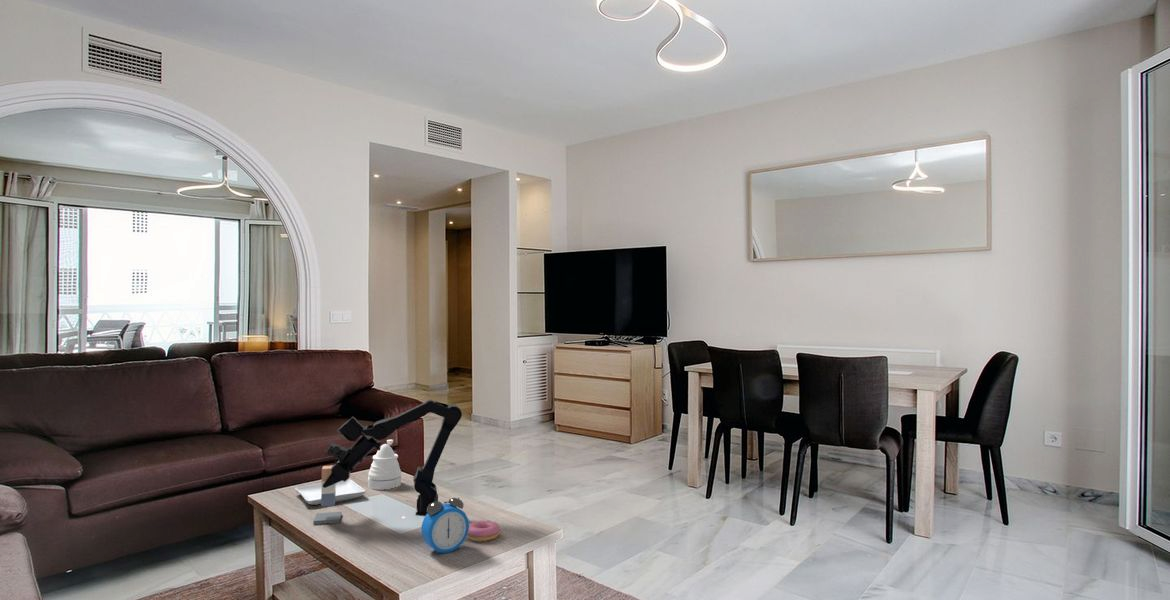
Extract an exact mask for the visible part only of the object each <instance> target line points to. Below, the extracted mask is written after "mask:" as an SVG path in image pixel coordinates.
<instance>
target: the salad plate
mask: <svg viewBox="0 0 1170 600" xmlns="http://www.w3.org/2000/svg"><path fill="white" fill-rule="evenodd" d="M321 486H322V482H320V483H319V482H318V483H314V484H308V485H302V486H296V487H295V488H294V490H295V491H296V492H297V494H299V495H300V496H301V497H302V498H303V499H304V501H305V502H306V503H307V504H309V505H310V506H311V505H313V506H319V505H318V504H321ZM365 493H366V489H365V488H363V487H361V485H359V484H357V483H356V482H355V481H354V480H352V479H349V478H348V479H347V480H346V481H345V482H344V481H340V482H338V483H336V492H335V503H338V501H339V502H343V500H345V501H349V500H348V499H350V500H354V499H355V498H359V497H362V496H363V495H364V494H365ZM353 498H354V499H353Z"/></svg>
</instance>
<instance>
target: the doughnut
mask: <svg viewBox="0 0 1170 600" xmlns="http://www.w3.org/2000/svg"><path fill="white" fill-rule="evenodd" d="M500 531H501V529H500V525H498V523H497V522H496V521H491V520H477V521H473V522H470V523H469V531H468V534H467V537H466V539H468V540H470V541H472V540H473V542H477V541H484V542H488V541H487V540H490V541H492V540H491V539H493V540H495V539H496V538H497V537H498V536H499V534H500ZM494 538H495V539H494Z"/></svg>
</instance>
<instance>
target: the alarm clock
mask: <svg viewBox="0 0 1170 600" xmlns="http://www.w3.org/2000/svg"><path fill="white" fill-rule="evenodd" d="M464 505H465V504H464V501H462V500H461V499H460V497H451V498H450V499H449V500H448V501H443V502H441V501H439V500H438V501H435V502H432V503H431V504H430V505H429V506H428V508H427V514H426V515H424V518H423V520H422V523H421V528H420V529H421V530H420V531H421V537H422V539H423V541H424V542H425V544H426V545H427V546H429V547H430V548H432V549H433V550H434V551H436V552H437V553H436V556H438V555H439V554H440V553H443V554H445V553H452V552H454V551H455V550H456V549H457V550H458V549H459V550H460V547H461V545H463V543H464V542H465V540H466V539H467V534H468V531H469V524H470V522H469V518H468V516H467V514H466V513H465V512H464V511H463V509H464Z"/></svg>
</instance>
